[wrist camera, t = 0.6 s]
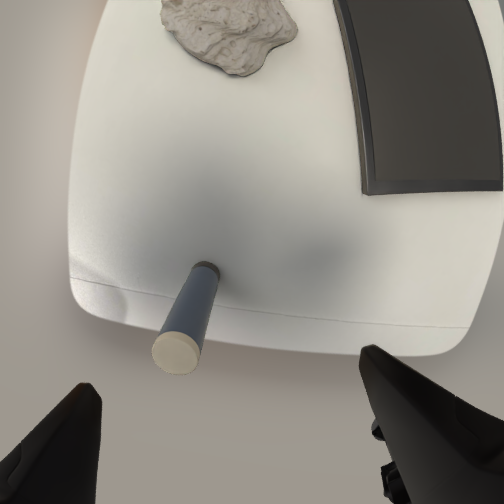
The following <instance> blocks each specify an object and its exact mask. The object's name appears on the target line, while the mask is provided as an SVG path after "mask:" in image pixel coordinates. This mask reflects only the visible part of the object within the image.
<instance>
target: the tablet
mask: <svg viewBox="0 0 504 504" xmlns="http://www.w3.org/2000/svg"><path fill="white" fill-rule="evenodd" d="M333 2H334V6H335V9H336V13H337V17H338V21H339V25H340V30H341V34H342V38H343V43H344V48H345V53H346V58H347V63H348V68H349V74H350V80H351V86H352V92H353V99H354V106H355V113H356V121H357V130H358V139H359V149H360V161H361V174H362V191H363V194H365V195H368V196H369V195H385V194H404V193H427V192H463V191H503V155H502V140H501V129H500V120H499V113H498V106H497V100H496V94H495V88H494V83H493V79H492V74H491V70H490V65H489V61H488V58H487V54H486V50H485V47H484V43H483V40H482V37H481V34H480V31H479V28H478V25H477V22H476V19H475V16H474V14H473V11H472V8H471V6H470V3H469V1H468V0H333Z"/></svg>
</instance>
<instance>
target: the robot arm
mask: <svg viewBox="0 0 504 504" xmlns="http://www.w3.org/2000/svg"><path fill="white" fill-rule="evenodd" d="M359 370H360V373H361V377H362V380H363V383H364V386H365V389H366V392H367V395H368V398H369V402H370V405H371V408H372V410H373V412H374V415H375V417H376V419H377V422H378V424H379V427H377V428H376V429H375V430H373V431H372V435H373V436H375V437H378V438H381V439H383V440H385V443H386V445H387V448H388V450H389V453H390V456H391V458H392V462H391V463H389V464H387V465H385V466H382V467H381V471H382V472H381V475H382V480H383V487H384V496H385V497H387V498H389V499H390V501H391V502H392V503H394V504H504V421H503V420H501V419H498V418H496V417H494V416H492V415H490V414H487V413H486V412H483V411H482V410H480V409H478V408H475V407H474V406H472V405H470V404H469V403H467V402H465V401H464V400H462V399H460V398H459V397H457V396H456V397H455V395H454V394H452V393H451V392H449V391H447V390H446V389H444V388H443V387H441V386H439V385H438V384H436V383H435V382H433V381H431V380H430V379H428V378H427V377H425V376H423V375H422V374H420V373H419V372H417V371H416V370H414V369H412V368H411V367H409V366H408V365H406V364H404V363H403V362H401V361H400V360H398V359H397V358H395V357H394V356H392V355H390V354H389V353H387V352H386V351H384V350H383V349H381V348H379V347H378V346H376V345H374V344H372V345H368V346H365V347H363V348H362V349H361V354H360V360H359ZM101 418H102V399H101V397H100V396H99V394H98V393H97V391H96V390H95V389H94V387H93V386H92V385H91V384H90V383H79V384H78V385H77V386H76V387H75V388H74V389H73V390H72V391H71V392H70V393H69V394H68V395H67V396H66V397H65V398H64V399H63V400H62V401H61V402H60V403H59V404H58V405H57V406H56V407H55V408H54V409H53V410H52V411H51V412H50V413H49V414H48V415H47V416H46V417H45V418H44V419H43V420H42V421H41V422H40V423H39V424H38V425H37V426H36V427H35V428H34V429H33V430H32V431H31V432H30V433H29V434H28V435H27V436H26V437H25V438H24V439H23V440H22V441H21V443H19V444H18V445H17V446H16V447H15V448H14V449H13V450H12V452H10V453H9V454H8V455H7V456H6V457H5V458H4V459H3V460H2V461H1V462H0V504H95V497H96V482H97V470H98V460H99V450H100V441H101Z"/></svg>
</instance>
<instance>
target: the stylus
mask: <svg viewBox="0 0 504 504" xmlns="http://www.w3.org/2000/svg"><path fill="white" fill-rule="evenodd" d="M219 279H220V274H219V270H218V269H217V267H216V266H215V265H213V264H212V263H209V262H199V263H197V264H196V265H194V267H193V268H192V270H191V272H190V274H189V276H188V277H187V279H186V281H185V283H184V285H183V287H182V289H181V291H180V293H179V295H178V297H177V299H176V301H175V303H174V305H173V307H172V309H171V311H170V313H169V315H168V317H167V319H166V321H165V323H164V325H163V327H162V329H161V331H160V333H159V335H158V337H157V339H156V341H155V343H154V345H153V348H152V357H153V360H154V361H155V363H156V364H157V365H158V366H159V367H160V368H161V369H162V370H164V371H165V372H167V373H170V374H174V375H186V374H189V373H191V372H193V371H194V370H195V369H196V367H197V365H198V362H199V358H200V354H201V350H202V346H203V342H204V338H205V334H206V330H207V326H208V322H209V318H210V314H211V310H212V306H213V302H214V298H215V294H216V290H217V287H218V283H219Z"/></svg>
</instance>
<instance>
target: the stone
mask: <svg viewBox="0 0 504 504" xmlns="http://www.w3.org/2000/svg"><path fill="white" fill-rule="evenodd" d="M161 2H162V10H161V11H160V16H161V21H162V24H163V25H164V26H165V29H166V30H167V31H170V32H173V34H174V36H175V37H176V39H177V41H178V42H179V43H180V44H181V45H182V47H183V48H184V49H186V50H187V51H188V52H189V53H190V54H192V55H193V56H195V57H196V58H198V59H200V60H202V61H204V62H207V63H210V64H215V65H217V66H219V67H221V68H222V69H223V70H224V71H226V72H227V73H228V74H238V75H239V76H245V75H249V74H251V73H253V72H255V71H256V70H258V69H259V68H260V67H261V66H262V65H263V63H264V60H265V57H266V55H267V53H268V51H269V50H270V49H271V48H273V47H275V46H278V45H280V44H283V43H286V42H289V41H291V40H293V39H294V38H295V36H296V34H297V32H298V30H297V26H296V23H295V22H294V21H293V20H292V19H291V17H290V16H289V14H288V13H287V11H286V10H285V8H284V6H283V5H282V3H281V2H280V1H279V0H161Z"/></svg>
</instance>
